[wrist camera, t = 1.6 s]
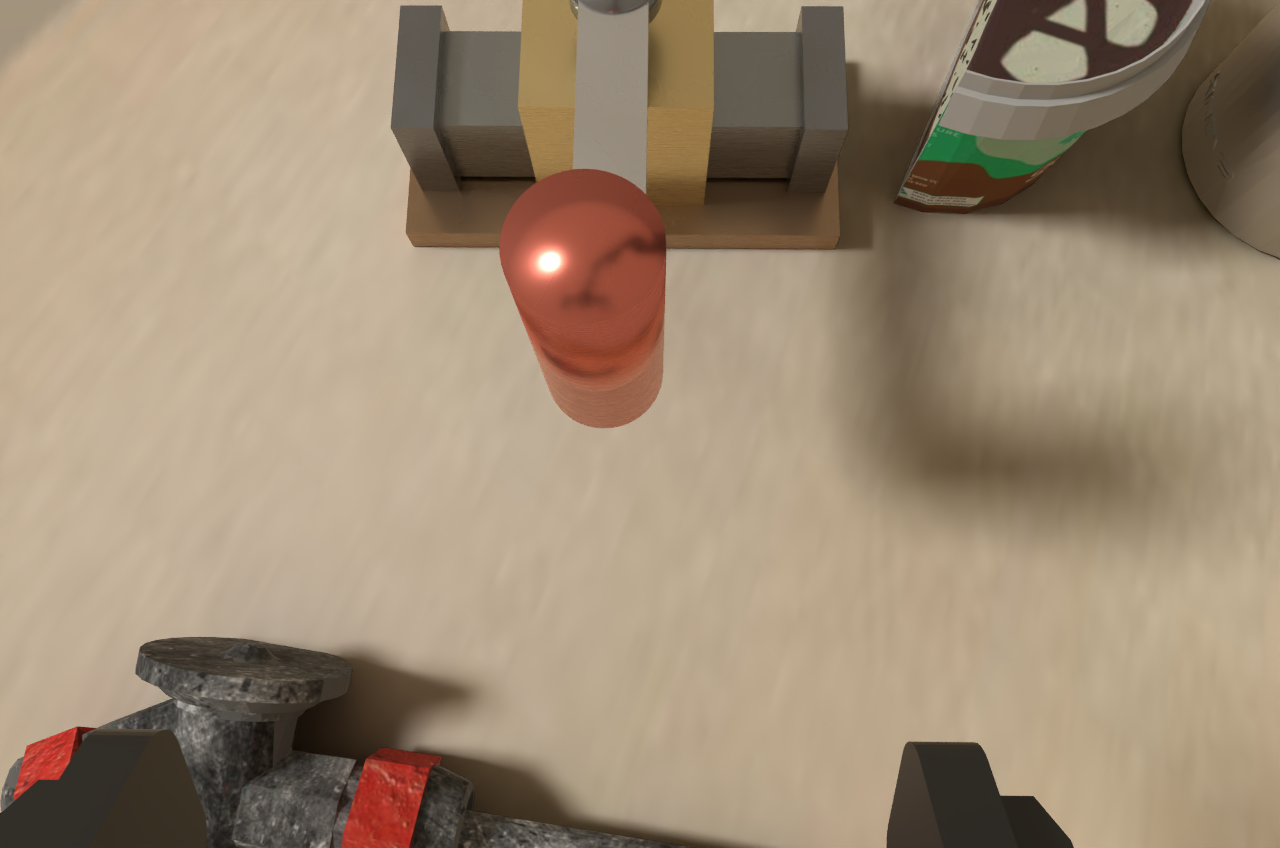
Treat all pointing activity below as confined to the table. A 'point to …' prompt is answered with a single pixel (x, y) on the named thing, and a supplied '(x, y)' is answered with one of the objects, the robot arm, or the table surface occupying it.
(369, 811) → the valve
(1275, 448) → the table surface
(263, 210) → the table surface
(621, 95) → the lever
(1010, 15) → the food container
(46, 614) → the table surface
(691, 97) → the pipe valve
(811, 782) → the table surface
